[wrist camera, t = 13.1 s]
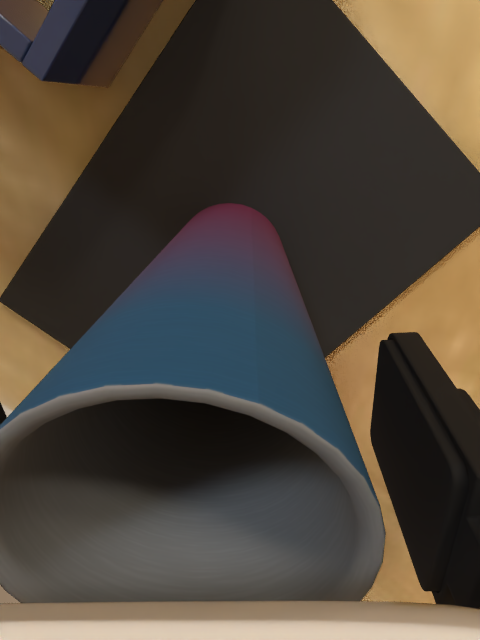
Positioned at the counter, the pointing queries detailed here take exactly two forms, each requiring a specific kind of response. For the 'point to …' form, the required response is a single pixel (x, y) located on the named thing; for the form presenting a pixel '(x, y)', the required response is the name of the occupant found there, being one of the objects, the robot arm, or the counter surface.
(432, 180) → the mat
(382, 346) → the robot arm
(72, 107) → the counter surface
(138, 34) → the holder
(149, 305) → the cup
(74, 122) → the counter surface
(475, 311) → the counter surface
